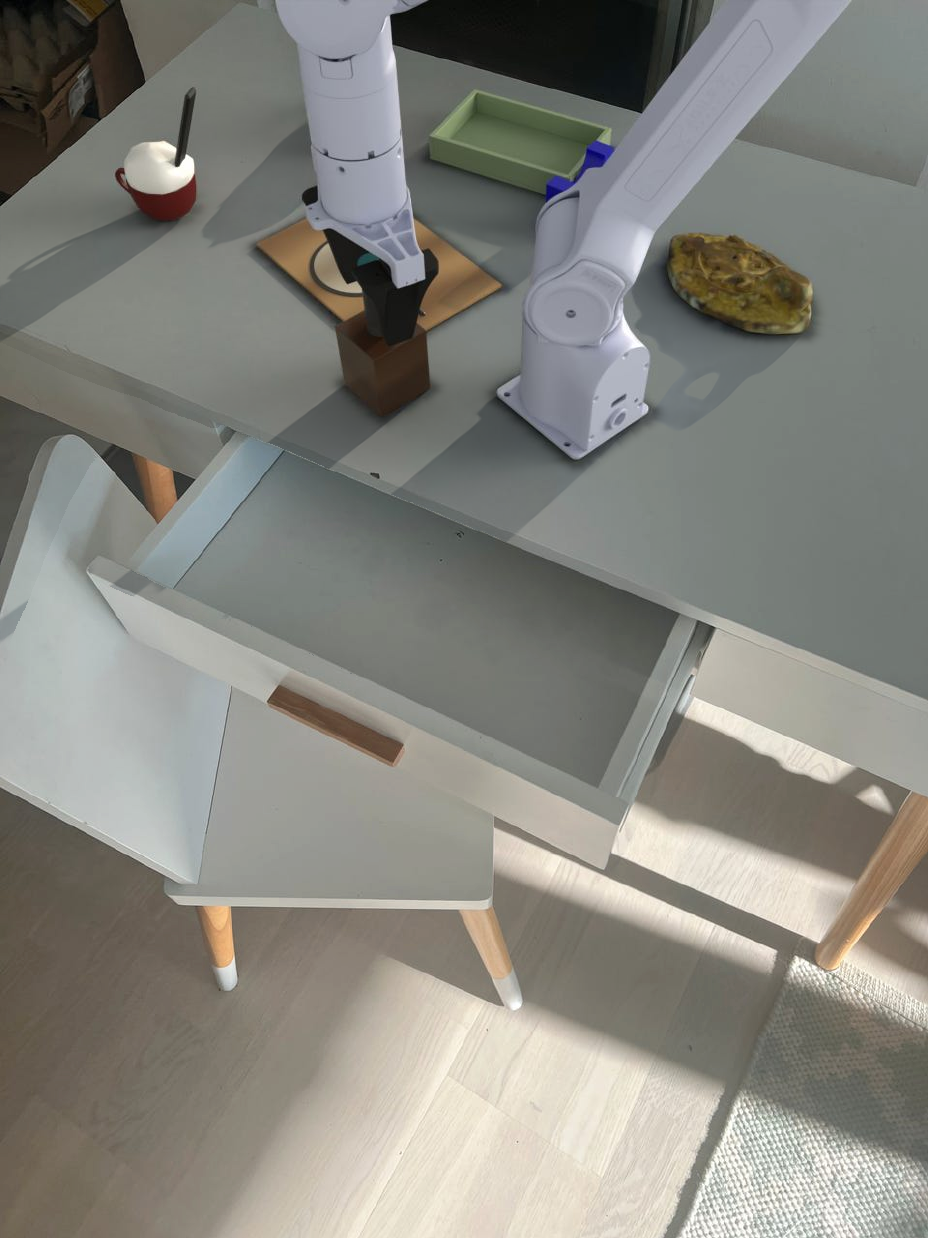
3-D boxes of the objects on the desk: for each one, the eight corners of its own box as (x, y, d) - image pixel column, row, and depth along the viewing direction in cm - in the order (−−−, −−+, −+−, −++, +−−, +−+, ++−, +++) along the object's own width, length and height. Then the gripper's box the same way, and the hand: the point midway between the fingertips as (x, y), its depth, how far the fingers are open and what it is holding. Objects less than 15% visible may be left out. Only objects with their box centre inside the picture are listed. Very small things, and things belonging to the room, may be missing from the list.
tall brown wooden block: (430, 388, 81) (426, 329, 76) (381, 418, 79) (373, 360, 74) (393, 355, 83) (386, 296, 78) (344, 384, 81) (334, 326, 76)
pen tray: (609, 151, 97) (611, 127, 95) (568, 202, 93) (570, 178, 91) (474, 111, 102) (474, 88, 100) (429, 158, 97) (428, 135, 95)
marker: (399, 328, 76) (392, 262, 71) (377, 341, 75) (369, 275, 70) (383, 314, 77) (375, 248, 72) (360, 327, 76) (351, 260, 71)
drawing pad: (501, 287, 87) (501, 281, 87) (382, 356, 83) (382, 351, 82) (370, 187, 95) (370, 182, 95) (256, 246, 91) (255, 241, 90)
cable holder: (576, 237, 90) (579, 197, 87) (544, 223, 91) (546, 183, 88) (623, 192, 93) (628, 152, 90) (591, 179, 95) (595, 139, 91)
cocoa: (115, 210, 94) (69, 84, 84) (163, 177, 97) (125, 51, 87) (186, 247, 91) (147, 121, 81) (234, 212, 94) (202, 85, 84)
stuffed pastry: (633, 283, 88) (773, 365, 82) (635, 240, 84) (782, 323, 78) (701, 224, 91) (842, 300, 85) (706, 180, 87) (855, 256, 81)
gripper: (256, 95, 65) (292, 268, 77) (342, 217, 58) (367, 387, 70) (355, 66, 67) (376, 240, 78) (450, 181, 60) (457, 354, 71)
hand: (377, 307), depth 74 cm, fingers open, 7 cm apart
